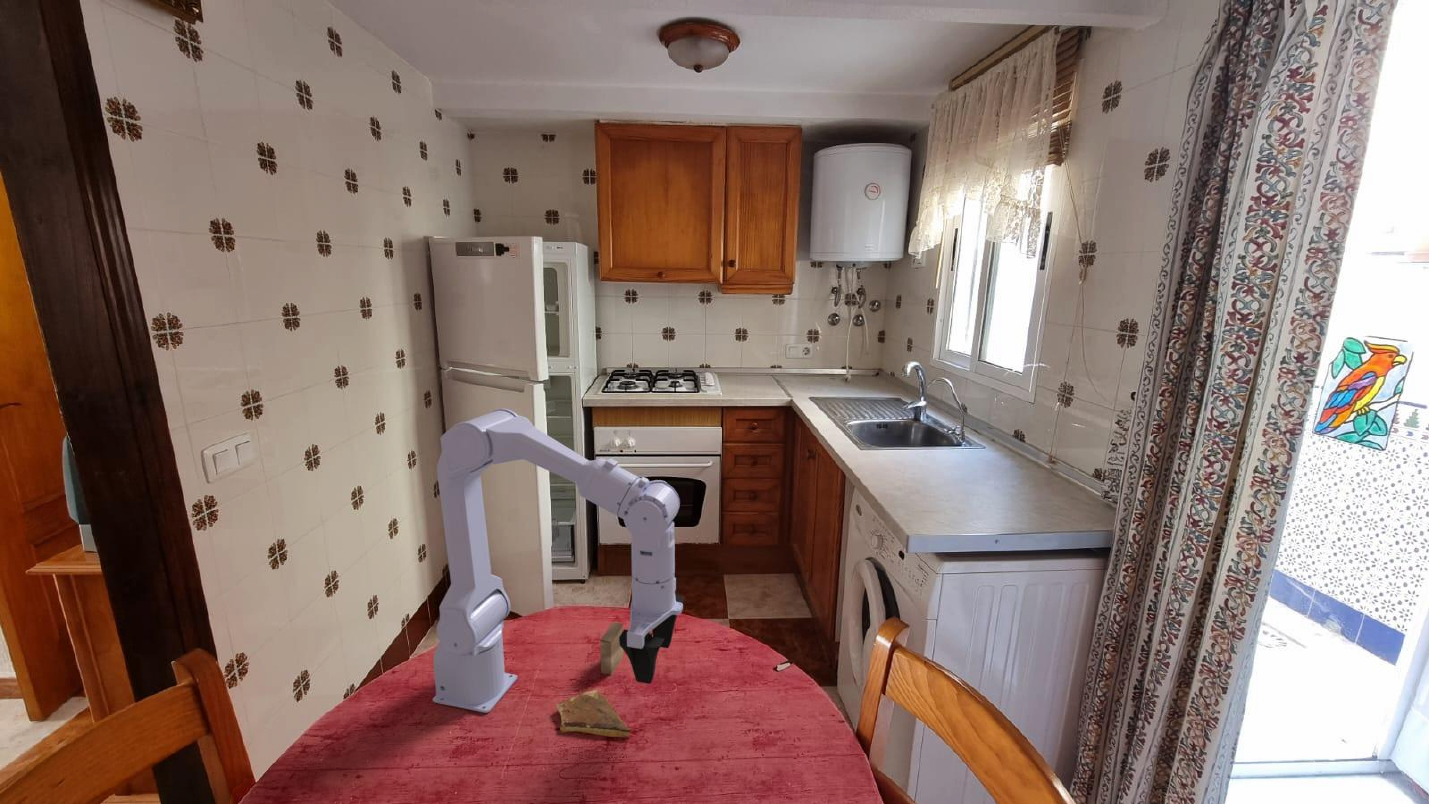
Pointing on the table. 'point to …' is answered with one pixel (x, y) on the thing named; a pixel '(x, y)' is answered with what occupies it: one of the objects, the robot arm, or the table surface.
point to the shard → (591, 715)
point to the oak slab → (611, 648)
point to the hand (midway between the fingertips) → (653, 662)
